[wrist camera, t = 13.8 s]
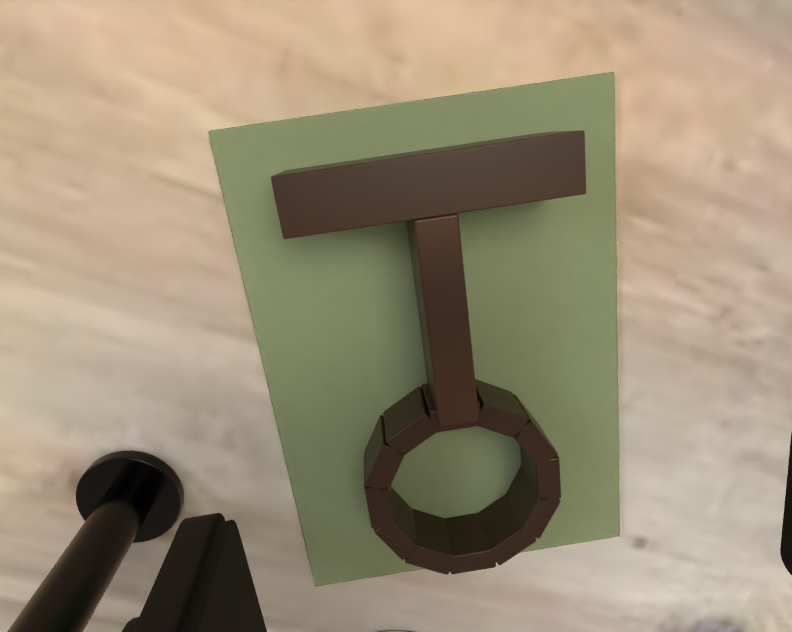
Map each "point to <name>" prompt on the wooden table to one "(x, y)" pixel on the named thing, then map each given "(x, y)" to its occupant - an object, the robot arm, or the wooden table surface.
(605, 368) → the felt mat
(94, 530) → the peg stand
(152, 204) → the wooden table surface
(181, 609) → the robot arm
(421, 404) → the hanger
